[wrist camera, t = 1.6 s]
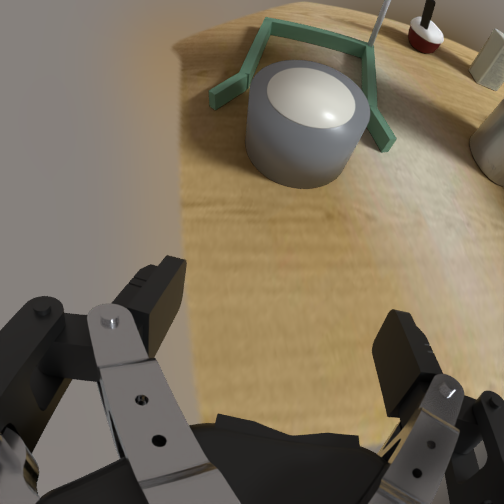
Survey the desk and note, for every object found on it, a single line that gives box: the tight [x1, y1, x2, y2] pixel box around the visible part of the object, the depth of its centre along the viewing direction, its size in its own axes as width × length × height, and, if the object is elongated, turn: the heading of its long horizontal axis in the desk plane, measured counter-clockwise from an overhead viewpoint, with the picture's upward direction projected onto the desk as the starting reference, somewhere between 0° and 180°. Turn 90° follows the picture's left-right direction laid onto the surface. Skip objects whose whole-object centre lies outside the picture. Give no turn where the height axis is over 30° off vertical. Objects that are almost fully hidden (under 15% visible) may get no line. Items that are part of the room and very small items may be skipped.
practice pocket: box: [209, 0, 397, 153], centre depth 29 cm, size 20×22×16 cm
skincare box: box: [469, 29, 504, 91], centre depth 38 cm, size 6×4×12 cm
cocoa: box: [408, 0, 444, 54], centre depth 38 cm, size 10×6×12 cm, turn 104°
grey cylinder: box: [245, 60, 370, 189], centre depth 29 cm, size 11×11×8 cm
